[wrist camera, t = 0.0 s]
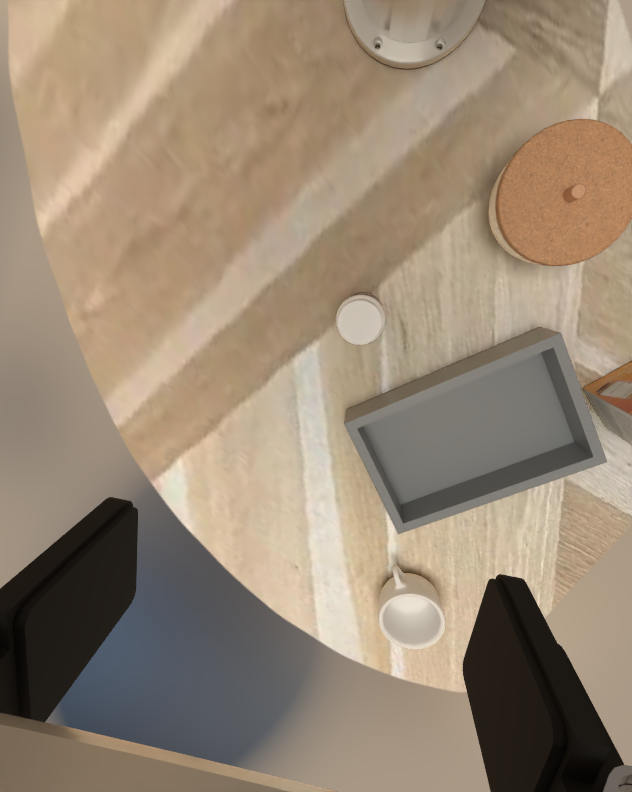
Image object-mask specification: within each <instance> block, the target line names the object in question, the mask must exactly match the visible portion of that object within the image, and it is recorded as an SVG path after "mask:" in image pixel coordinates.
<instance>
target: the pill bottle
mask: <svg viewBox="0 0 632 792" xmlns="http://www.w3.org/2000/svg"><path fill="white" fill-rule="evenodd" d="M385 323H386V314H385V311H384V308H383V306H382V304H381V302H380V301H379V300H378V299H377V298H376V297H375V296H373V295H372V294H369V293H356V294H354V295H352V296H350V297H349V298H347V299H346V300H345V301H344V302H343V303H342V304H341V305H340V307H339V309H338V311H337V314H336V326H337V329H338V332H339V333H340V335H341V336H342V337H343V338H344V339H345V340H346V341H347V342H349V343H351V344H355V345H365V344H369V343H371V342H373V341H374V340H376V339H377V338H378V337H379V336H380V335H381V333H382V332H383V330H384V327H385Z"/></svg>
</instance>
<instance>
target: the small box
mask: <svg viewBox="0 0 632 792" xmlns="http://www.w3.org/2000/svg"><path fill="white" fill-rule="evenodd" d="M583 390H584V392H585V394H586V396H587V397H588V399H589V401H590V402H591V404H592V406H593V407H594V409H595V411H596V412H597V414H598V416H599V417H600V419H601V421H602V422H603V424H604V425H605V427H606V428H607V429H608V430H610V431H611V432H613V433H614V434H616V435H617V436H619V437H620V438H622V439H623V440H625V441H626V442H628V443H629V444H631V445H632V361H631V362H629V363H628V364H626V365H624V366H622V367H620V368H618V369H617V370H615V371H613V372H611V373H609V374H608V375H606V376H604V377H602V378H600V379H598V380H597V381H595V382H593V383H591V384H589V385H587V386H585V387H584V388H583Z"/></svg>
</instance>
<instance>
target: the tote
mask: <svg viewBox="0 0 632 792" xmlns="http://www.w3.org/2000/svg"><path fill="white" fill-rule="evenodd" d="M344 424H345V426H346V429H347V431H348V433H349V435H350V437H351V439H352V441H353V443H354V445H355V447H356V449H357V451H358V453H359V455H360V457H361V459H362V461H363V463H364V465H365V467H366V469H367V471H368V473H369V475H370V477H371V479H372V482H373V484H374V486H375V488H376V490H377V492H378V494H379V496H380V498H381V500H382V502H383V504H384V506H385V508H386V510H387V512H388V514H389V516H390V518H391V520H392V522H393V524H394V526H395V528H396V530H397V533H398V534H400V533H403V532H406V531H409V530H412V529H415V528H418V527H420V526H423V525H426V524H429V523H432V522H435V521H438V520H441V519H444V518H446V517H449V516H452V515H455V514H458V513H461V512H464V511H467V510H470V509H473V508H475V507H478V506H481V505H484V504H487V503H490V502H493V501H496V500H499V499H502V498H504V497H507V496H510V495H513V494H516V493H519V492H522V491H525V490H528V489H531V488H533V487H536V486H539V485H542V484H545V483H548V482H551V481H554V480H557V479H560V478H562V477H565V476H568V475H571V474H574V473H577V472H580V471H583V470H586V469H588V468H591V467H594V466H597V465H600V464H603V463H606V462H607V460H606V457H605V454H604V451H603V449H602V446H601V443H600V440H599V438H598V435H597V432H596V429H595V426H594V424H593V421H592V418H591V415H590V412H589V410H588V407H587V404H586V401H585V399H584V396H583V393H582V390H581V387H580V385H579V382H578V379H577V376H576V373H575V371H574V368H573V365H572V362H571V360H570V357H569V354H568V351H567V348H566V346H565V343H564V340H563V337H562V334H561V333H559V332H556V331H553V330H549V329H546V328H542V327H538V328H536V329H534V330H531V331H529V332H527V333H524V334H522V335H520V336H517V337H515V338H513V339H510V340H508V341H506V342H503V343H501V344H499V345H496V346H494V347H491V348H489V349H487V350H484V351H482V352H480V353H477V354H475V355H473V356H470V357H468V358H466V359H463V360H461V361H459V362H456V363H454V364H452V365H449V366H447V367H445V368H442V369H440V370H438V371H435V372H433V373H431V374H428V375H426V376H424V377H421V378H419V379H417V380H414V381H412V382H410V383H407V384H405V385H403V386H400V387H398V388H396V389H393V390H391V391H389V392H386V393H384V394H382V395H379V396H377V397H375V398H372V399H370V400H368V401H365V402H363V403H361V404H358V405H356V406H354V407H351V408H349V409H347V410H346V416H345V422H344Z"/></svg>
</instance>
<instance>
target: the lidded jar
mask: <svg viewBox="0 0 632 792" xmlns="http://www.w3.org/2000/svg"><path fill="white" fill-rule="evenodd" d="M631 219H632V144H631V143H630V141H629V140H628V139H627V138H626V137H625V136H624V135H623V134H622V133H621V132H620V131H618V130H617V129H615V128H614V127H612V126H610V125H608V124H606V123H603V122H600V121H595V120H590V119H575V120H568V121H564V122H560V123H557V124H554V125H552V126H550V127H548V128H545V129H544V130H542V131H541V132H539V133H538V134H536V135H534V136H533V137H532V138H531V139H530V140H528V141H527V142H526V143H525V144H524V145H523V146H522V147H521V148H520V149H519V150H518V151H517V152H516V153H515V154H514V156H513V157H512V158H511V159H510V160H509V162H508V163H507V164H506V166H505V167H504V168H503V170H502V171H501V173H500V174H499V176H498V178H497V180H496V182H495V184H494V187H493V190H492V193H491V197H490V203H489V222H490V226H491V229H492V232H493V234H494V236H495V238H496V240H497V241H498V243H499V244H500V245H501V246H502V247H503V248H504V249H505V250H506V251H507V252H508V253H509V254H511V255H512V256H514V257H515V258H518V259H520V260H522V261H525V262H529V263H533V264H541V265H549V266H562V265H570V264H575V263H579V262H582V261H584V260H587V259H590V258H591V257H593V256H595V255H597V254H599V253H600V252H602V251H603V250H605V249H606V248H607V247H609V246H610V245H611V244H612V243H613V242H614V241H615V240H616V239H617V238H618V237H619V236H620V235H621V234H622V232H623V231H624V230H625V229H626V227H627V226H628V224H629V222H630V221H631Z"/></svg>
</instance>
